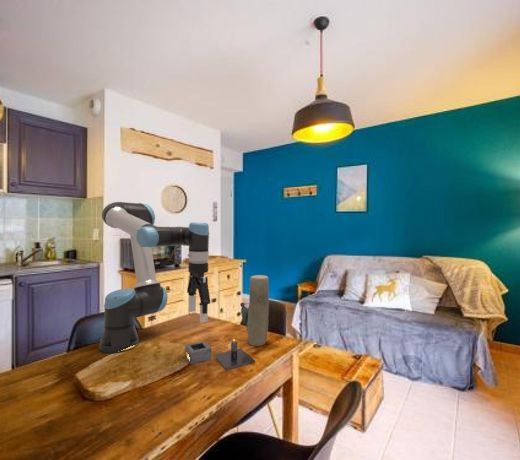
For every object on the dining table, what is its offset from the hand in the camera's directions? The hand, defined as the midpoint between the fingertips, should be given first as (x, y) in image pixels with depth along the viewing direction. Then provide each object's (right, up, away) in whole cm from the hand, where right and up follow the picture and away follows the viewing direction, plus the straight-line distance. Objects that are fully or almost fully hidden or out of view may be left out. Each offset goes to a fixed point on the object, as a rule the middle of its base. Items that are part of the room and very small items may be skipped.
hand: (197, 316), depth 110 cm
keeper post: (+14, -17, +1) cm, 22 cm away
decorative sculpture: (+21, -17, +18) cm, 33 cm away
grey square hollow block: (0, -17, +2) cm, 17 cm away
